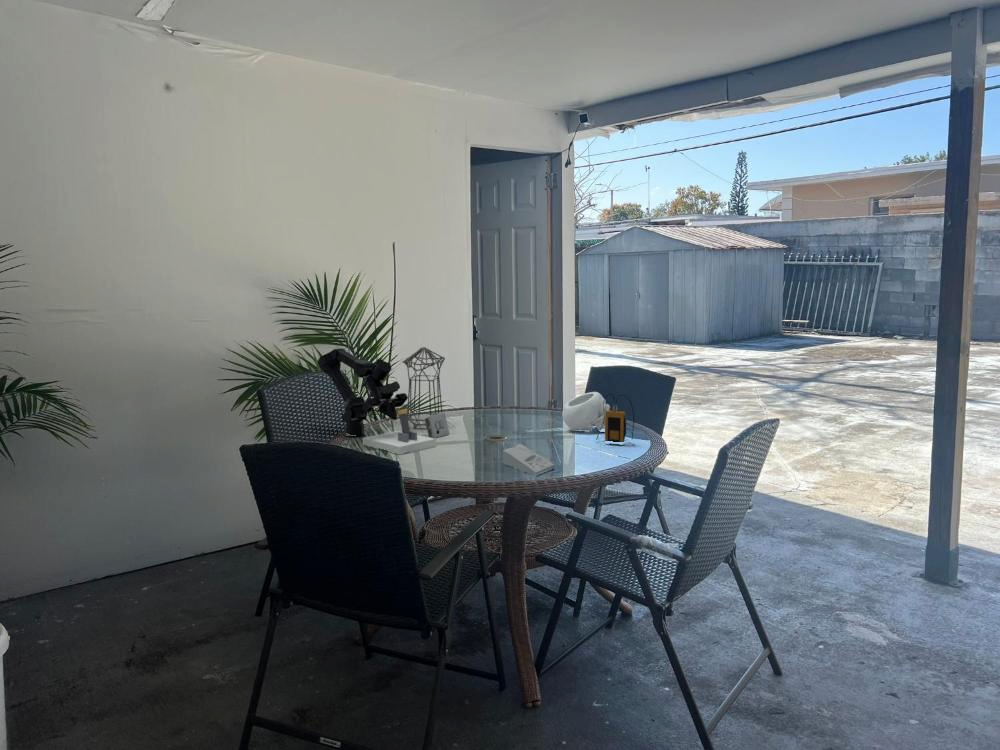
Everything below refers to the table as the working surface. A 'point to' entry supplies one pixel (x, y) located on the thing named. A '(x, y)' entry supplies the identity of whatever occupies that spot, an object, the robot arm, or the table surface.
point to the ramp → (525, 459)
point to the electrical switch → (437, 425)
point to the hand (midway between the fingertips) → (395, 419)
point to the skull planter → (585, 412)
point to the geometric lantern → (423, 380)
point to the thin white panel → (400, 442)
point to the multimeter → (615, 424)
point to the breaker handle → (404, 421)
